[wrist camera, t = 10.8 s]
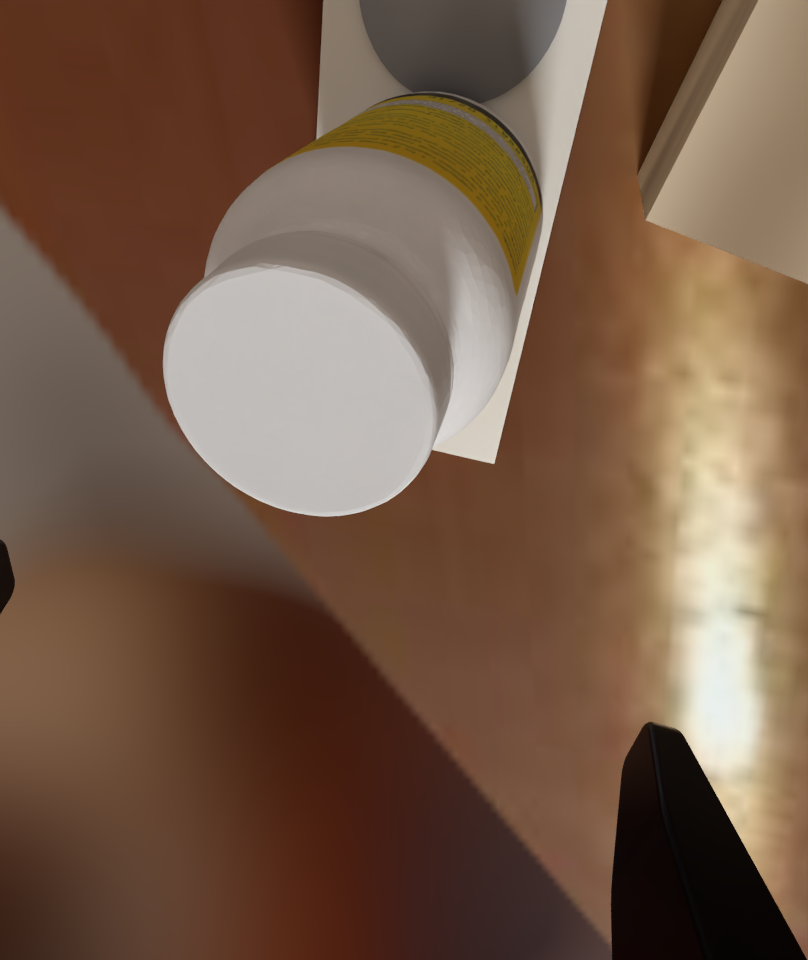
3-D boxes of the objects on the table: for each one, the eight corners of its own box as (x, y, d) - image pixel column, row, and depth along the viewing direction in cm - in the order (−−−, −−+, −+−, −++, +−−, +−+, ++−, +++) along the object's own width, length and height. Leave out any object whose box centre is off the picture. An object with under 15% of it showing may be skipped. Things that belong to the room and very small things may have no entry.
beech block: (912, 51, 15) (997, 73, 12) (793, 235, 17) (836, 295, 14) (731, -21, 15) (767, -19, 12) (637, 173, 17) (645, 220, 14)
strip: (641, -145, 14) (644, -152, 13) (497, 450, 22) (493, 467, 22) (344, -186, 15) (329, -195, 14) (311, 407, 23) (300, 423, 22)
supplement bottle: (323, 77, 17) (75, 173, 9) (562, 98, 16) (525, 223, 8) (327, 304, 20) (146, 522, 12) (526, 330, 19) (474, 584, 11)
